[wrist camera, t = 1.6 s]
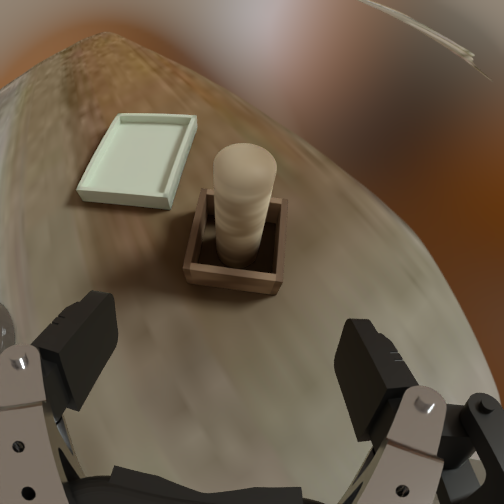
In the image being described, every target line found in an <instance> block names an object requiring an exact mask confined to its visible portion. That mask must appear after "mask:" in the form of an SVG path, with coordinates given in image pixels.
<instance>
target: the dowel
mask: <svg viewBox="0 0 504 504" xmlns="http://www.w3.org/2000/svg"><path fill="white" fill-rule="evenodd" d="M276 170H277V165H276V161H275V159H274V157H273V156H272V155H271V154H270V153H269V152H268V151H267V150H265V149H264V148H262V147H260V146H257V145H254V144H248V143H239V144H233V145H230V146H228V147H226V148H224V149H222V150H221V151H220V152H219V153H218V154H217V155H216V157H215V159H214V163H213V174H214V204H215V229H216V250H217V255H218V258H219V259H220V261H221V262H222V263H223V264H225V265H226V266H228V267H231V268H236V269H239V268H244V267H247V266H249V265H250V264H252V263H253V262H254V261H255V259H256V257H257V254H258V250H259V246H260V241H261V237H262V233H263V228H264V224H265V219H266V215H267V211H268V206H269V202H270V197H271V193H272V189H273V184H274V180H275V175H276Z"/></svg>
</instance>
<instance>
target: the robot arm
mask: <svg viewBox="0 0 504 504" xmlns="http://www.w3.org/2000/svg"><path fill="white" fill-rule="evenodd" d="M117 341H118V328H117V320H116V311H115V302H114V297H113V295H112V294H111V293H105V292H99V291H93V290H92V291H90V292H89V293H88V294H87V295H86V296H85V297H84V298H83V299H82V300H81V301H80V302H76V303H74V304H72V305H70V306H68V307H66V308H65V309H64V310H63V311H62V312H61V313H60V314H59V315H58V317H56V318H55V319H54V320H53V321H52V324H51V323H50V324H49V325H48V327H47V328H46V329H45V330H44V331H43V332H42V333H41V334H40V335H39V336H38V337H37V338H36V339H35V340H34V341H33V343H32V344H31V345H29V344H16V345H15V334H14V327H13V323H12V319H11V317H10V315H9V312H8V311H7V309H6V308H5V307H4V306H3V305H2V304H1V303H0V504H324V503H321V502H319V501H315V500H311V499H307V498H302V490H301V487H280V488H268V487H253V488H247V489H241V490H234V491H227V492H218V493H201V492H198V491H195V490H192V489H189V488H187V487H184V486H181V485H179V484H176V483H174V482H171V481H169V480H166V479H164V478H162V477H159V476H156V475H151V474H147V473H142V472H138V471H134V470H130V469H126V468H122V467H119V466H115V465H114V468H113V471H112V474H111V476H92V477H85V475H84V473H83V471H82V469H81V467H80V464H79V462H78V459H77V456H76V453H75V450H74V447H73V444H72V441H71V438H70V435H69V431H68V428H67V424H66V421H65V418H64V415H63V412H64V411H65V409H66V407H67V408H69V409H72V410H75V411H78V412H79V411H80V409H81V407H82V405H83V403H84V402H85V400H86V398H87V396H88V394H89V393H90V391H91V389H92V387H93V385H94V384H95V382H96V380H97V378H98V377H99V375H100V373H101V372H102V370H103V368H104V366H105V365H106V363H107V361H108V360H109V358H110V356H111V354H112V353H113V351H114V349H115V348H116V345H117ZM334 369H335V373H336V376H337V379H338V382H339V385H340V388H341V391H342V394H343V397H344V400H345V403H346V406H347V409H348V412H349V415H350V419H351V422H352V425H353V428H354V431H355V434H356V437H357V441H358V442H362V441H370V440H371V442H372V445H373V446H372V448H371V449H370V451H369V452H368V454H367V456H366V458H365V460H364V462H363V463H362V465H361V467H360V469H359V471H358V472H357V474H356V476H355V478H354V479H353V481H352V483H351V484H350V486H349V488H348V489H347V491H346V492H345V494H344V495H343V497H342V498H341V499H340V501H339V502H338V503H337V504H432V503H433V500H434V497H435V494H437V497H438V500H439V503H440V504H504V410H503V409H502V407H501V405H500V404H499V402H498V401H497V400H496V399H495V398H493V397H492V396H490V395H488V394H485V393H475V394H473V395H471V396H470V398H469V399H468V401H467V402H466V404H465V405H464V406H463V405H452V404H446V402H445V400H444V398H443V397H442V395H441V394H439V393H438V392H437V391H435V390H434V389H432V388H429V387H426V386H419V384H418V383H417V381H416V380H415V378H414V376H413V375H412V373H411V371H410V370H409V368H408V367H407V365H406V363H405V362H404V361H402V357H401V355H400V354H399V353H398V351H397V349H396V348H395V346H394V345H393V343H392V342H391V341H390V340H389V339H388V338H386V337H385V336H384V335H383V334H381V333H378V332H377V331H376V329H375V327H374V326H373V324H372V323H371V321H370V320H369V319H347V320H346V322H345V325H344V328H343V331H342V335H341V338H340V341H339V344H338V348H337V351H336V354H335V359H334ZM475 451H476V452H477V454H478V456H479V458H480V460H481V462H482V464H483V466H484V468H485V471H486V478H485V481H484V483H483V484H482V486H480V484H479V481H478V479H477V477H476V474H475V472H474V470H473V468H472V466H471V463H470V461H469V458H470V457H471V456H472V454H473V453H474V452H475Z"/></svg>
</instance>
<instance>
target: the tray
mask: <svg viewBox="0 0 504 504" xmlns="http://www.w3.org/2000/svg"><path fill="white" fill-rule="evenodd" d="M196 130H197V116H196V115H178V114H147V113H120V114H117V116H116V117H115V119H114V121H113V122H112V124H111V126H110V127H109V129H108V131H107V132H106V134H105V136H104V137H103V139H102V141H101V143H100V144H99V146H98V148H97V150H96V152H95V153H94V155H93V157H92V159H91V161H90V163H89V165H88V166H87V168H86V170H85V172H84V174H83V176H82V178H81V180H80V182H79V184H78V187H77V189H76V191H77V192H78V194H79V196H80V197H81V199H82V201H88V202H99V203H109V204H119V205H129V206H139V207H148V208H158V209H166V210H171V207H172V203H173V200H174V197H175V194H176V190H177V187H178V184H179V181H180V178H181V174H182V171H183V168H184V165H185V162H186V159H187V156H188V153H189V150H190V147H191V145H192V142H193V139H194V136H195V133H196Z"/></svg>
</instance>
